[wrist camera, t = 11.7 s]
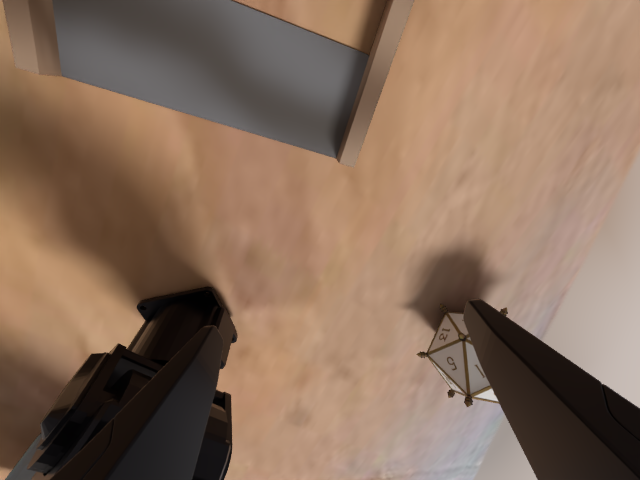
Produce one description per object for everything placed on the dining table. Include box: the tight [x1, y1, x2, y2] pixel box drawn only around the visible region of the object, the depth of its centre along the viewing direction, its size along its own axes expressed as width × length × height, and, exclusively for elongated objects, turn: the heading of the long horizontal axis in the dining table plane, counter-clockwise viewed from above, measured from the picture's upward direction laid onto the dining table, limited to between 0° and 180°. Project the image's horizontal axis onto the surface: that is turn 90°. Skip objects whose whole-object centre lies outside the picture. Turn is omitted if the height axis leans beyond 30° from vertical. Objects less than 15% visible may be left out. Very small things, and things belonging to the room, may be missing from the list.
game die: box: [416, 304, 508, 407], centre depth 23 cm, size 9×8×10 cm
